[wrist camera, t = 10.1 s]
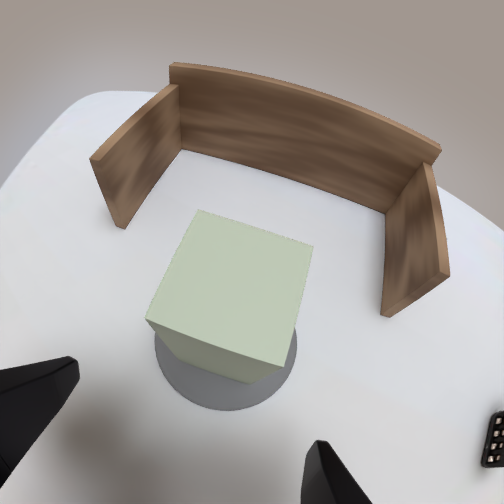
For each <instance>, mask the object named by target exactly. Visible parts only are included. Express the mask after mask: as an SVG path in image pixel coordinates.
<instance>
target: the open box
mask: <svg viewBox="0 0 504 504" xmlns="http://www.w3.org/2000/svg"><path fill="white" fill-rule="evenodd" d="M169 78H170V84H169V85H168V86H166V87H165V88H164V89H163V90H161V91H160V92H159V93H158V94H156V95H155V96H154V97H153V98H152V99H150V100H149V101H148V102H147V103H146V104H145V105H143V106H142V107H141V108H140V109H139V110H138V111H137V112H135V113H134V114H133V115H132V116H131V117H130V118H129V119H128V120H127V121H126V122H125V123H124V124H122V125H121V126H120V127H119V128H118V129H117V130H116V131H115V132H114V133H113V134H112V135H111V136H110V137H109V138H108V139H107V140H106V141H105V142H104V143H103V144H102V145H101V146H100V147H99V149H98V150H97V151H96V152H95V153H94V154H93V155H92V156H91V157H90V158H89V160H90V163H91V165H92V168H93V171H94V174H95V176H96V179H97V181H98V184H99V187H100V189H101V192H102V194H103V196H104V199H105V201H106V204H107V206H108V209H109V211H110V213H111V216H112V218H113V220H114V222H115V225H116V226H117V227H120V228H123V229H125V228H126V227H127V225H128V224H129V222H130V221H131V219H132V217H133V216H134V214H135V213H136V211H137V210H138V208H139V207H140V205H141V204H142V202H143V201H144V199H145V198H146V197H147V195H148V194H149V192H150V191H151V189H152V188H153V187H154V185H155V184H156V182H157V181H158V180H159V178H160V177H161V175H162V174H163V173H164V171H165V170H166V169H167V167H168V166H169V165H170V163H171V162H172V161H173V159H174V158H175V157H176V155H177V154H178V153H179V152H180V150H181V149H185V150H190V151H194V152H198V153H202V154H206V155H210V156H213V157H217V158H221V159H225V160H228V161H232V162H236V163H239V164H243V165H246V166H250V167H253V168H256V169H260V170H263V171H266V172H270V173H273V174H276V175H279V176H282V177H285V178H288V179H292V180H295V181H298V182H301V183H304V184H306V185H309V186H312V187H315V188H318V189H321V190H324V191H327V192H329V193H332V194H335V195H338V196H340V197H343V198H346V199H348V200H351V201H353V202H356V203H359V204H361V205H364V206H366V207H369V208H371V209H374V210H376V211H379V212H381V213H384V214H385V219H386V226H385V264H384V281H383V294H382V305H381V314H380V315H383V316H386V317H392V316H393V315H395V314H396V313H398V312H399V311H401V310H403V309H404V308H406V307H407V306H409V305H410V304H412V303H413V302H415V301H416V300H418V299H419V298H421V297H422V296H424V295H425V294H426V293H428V292H429V291H431V290H432V289H434V288H435V287H436V286H438V285H439V284H440V283H442V282H443V281H445V280H446V279H447V278H449V277H450V267H449V257H448V248H447V241H446V234H445V227H444V221H443V215H442V210H441V205H440V200H439V195H438V191H437V186H436V182H435V178H434V174H433V170H432V164H433V163H434V162H435V160H436V158H437V157H438V156H439V154H440V153H441V151H442V149H441V147H440V144H438V143H436V142H435V141H433V140H431V139H429V138H427V137H425V136H424V135H422V134H420V133H418V132H416V131H414V130H412V129H410V128H408V127H406V126H404V125H402V124H400V123H398V122H395V121H393V120H391V119H389V118H387V117H385V116H382V115H380V114H378V113H375V112H373V111H371V110H368V109H366V108H363V107H361V106H358V105H356V104H353V103H351V102H348V101H345V100H343V99H340V98H337V97H334V96H331V95H328V94H326V93H323V92H319V91H316V90H313V89H310V88H306V87H303V86H300V85H296V84H292V83H289V82H286V81H282V80H277V79H274V78H270V77H265V76H261V75H257V74H252V73H247V72H242V71H237V70H231V69H226V68H219V67H213V66H206V65H198V64H189V63H179V62H174V63H173V64H171V65H169Z"/></svg>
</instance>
